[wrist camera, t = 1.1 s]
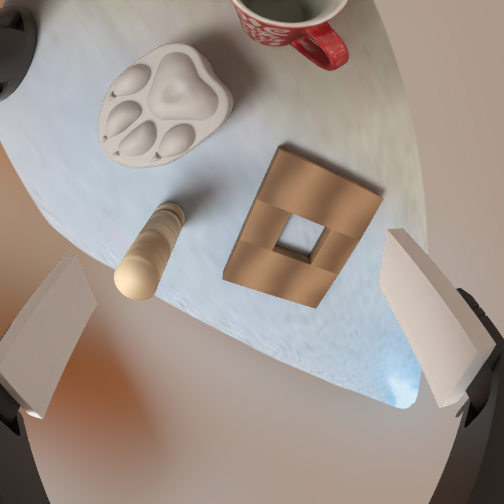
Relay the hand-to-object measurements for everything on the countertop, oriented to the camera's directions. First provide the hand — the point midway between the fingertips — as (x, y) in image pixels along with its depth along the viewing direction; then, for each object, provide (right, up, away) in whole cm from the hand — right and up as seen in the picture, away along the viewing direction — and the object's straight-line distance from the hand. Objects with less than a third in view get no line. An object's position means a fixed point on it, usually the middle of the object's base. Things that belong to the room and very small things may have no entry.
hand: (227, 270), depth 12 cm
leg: (-9, +5, +25) cm, 27 cm away
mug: (+4, +25, +14) cm, 29 cm away
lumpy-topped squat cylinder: (-8, +17, +18) cm, 26 cm away
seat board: (+7, +3, +26) cm, 27 cm away
